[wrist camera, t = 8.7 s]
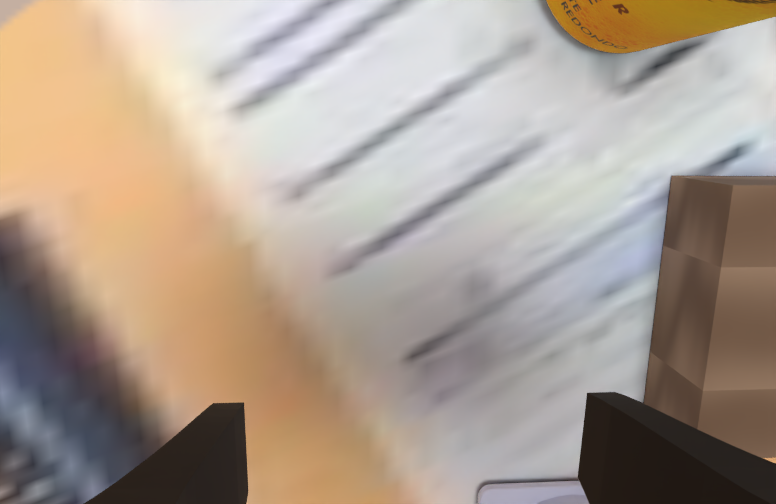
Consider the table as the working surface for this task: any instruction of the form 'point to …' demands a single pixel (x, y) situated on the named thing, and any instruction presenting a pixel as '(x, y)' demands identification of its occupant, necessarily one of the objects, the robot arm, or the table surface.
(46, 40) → the table surface
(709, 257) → the walnut block
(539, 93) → the table surface
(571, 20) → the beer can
